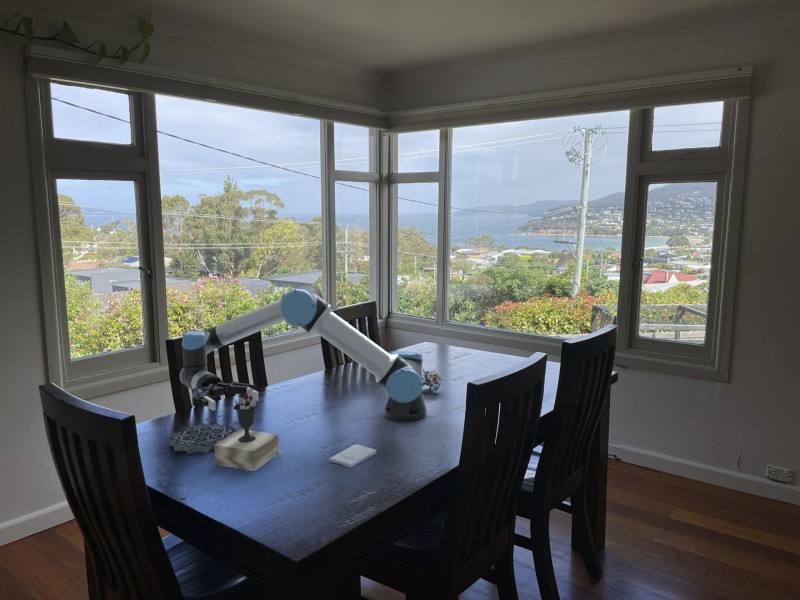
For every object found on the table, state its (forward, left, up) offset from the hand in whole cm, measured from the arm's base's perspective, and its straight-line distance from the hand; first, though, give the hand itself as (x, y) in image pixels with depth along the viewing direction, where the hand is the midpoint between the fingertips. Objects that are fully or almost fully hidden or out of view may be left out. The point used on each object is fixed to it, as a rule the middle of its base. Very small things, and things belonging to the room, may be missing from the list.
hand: (236, 401), depth 171 cm
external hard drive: (-33, -10, -17) cm, 39 cm away
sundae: (-5, +2, -10) cm, 12 cm away
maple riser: (-5, +2, -16) cm, 17 cm away
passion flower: (-36, -77, -16) cm, 86 cm away
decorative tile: (+16, -5, -17) cm, 24 cm away
